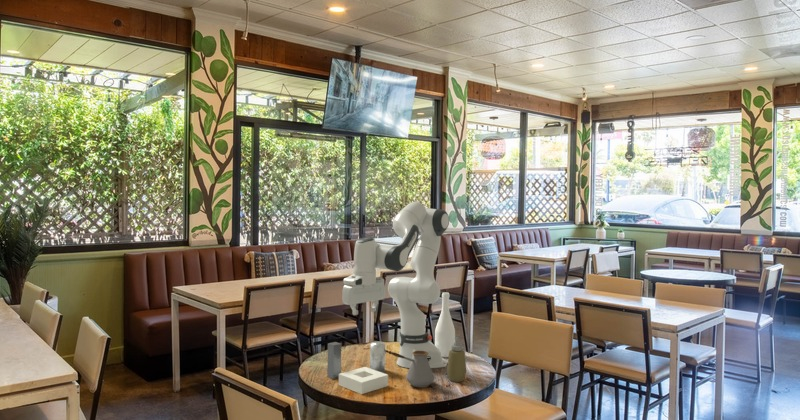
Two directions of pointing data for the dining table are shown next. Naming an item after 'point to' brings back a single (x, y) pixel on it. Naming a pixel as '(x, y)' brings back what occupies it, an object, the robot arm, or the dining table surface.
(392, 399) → the dining table surface
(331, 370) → the square bit
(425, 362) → the coffee pot
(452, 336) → the wine bottle
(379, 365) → the round bit
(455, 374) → the squeeze bottle
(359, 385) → the socket block
